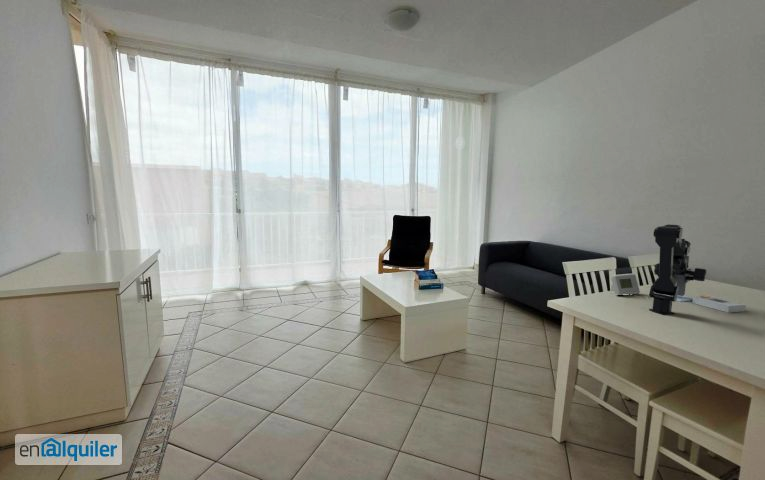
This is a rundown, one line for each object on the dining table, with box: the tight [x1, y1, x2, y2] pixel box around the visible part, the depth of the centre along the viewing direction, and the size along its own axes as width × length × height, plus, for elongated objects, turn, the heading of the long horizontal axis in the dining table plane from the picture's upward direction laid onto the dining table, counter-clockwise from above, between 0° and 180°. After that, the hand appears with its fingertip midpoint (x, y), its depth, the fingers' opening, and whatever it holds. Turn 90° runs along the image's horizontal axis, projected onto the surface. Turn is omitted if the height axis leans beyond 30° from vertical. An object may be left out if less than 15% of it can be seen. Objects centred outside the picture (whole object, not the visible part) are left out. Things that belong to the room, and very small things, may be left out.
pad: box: [667, 295, 693, 303], centre depth 164 cm, size 10×10×1 cm
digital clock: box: [610, 273, 641, 295], centre depth 171 cm, size 16×9×11 cm, turn 95°
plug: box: [674, 274, 687, 296], centre depth 163 cm, size 4×4×14 cm
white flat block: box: [691, 294, 747, 313], centre depth 151 cm, size 10×14×4 cm
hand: (680, 281), depth 164 cm, fingers closed on plug, 4 cm apart
